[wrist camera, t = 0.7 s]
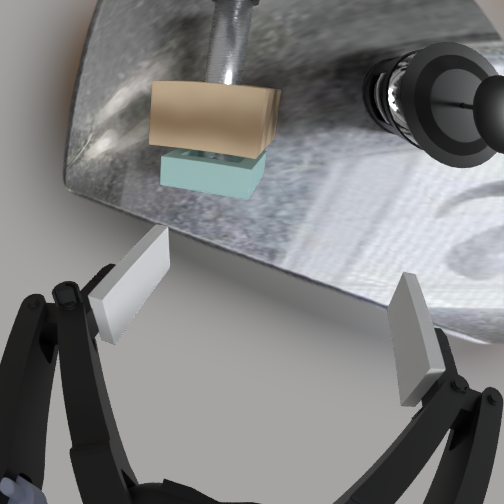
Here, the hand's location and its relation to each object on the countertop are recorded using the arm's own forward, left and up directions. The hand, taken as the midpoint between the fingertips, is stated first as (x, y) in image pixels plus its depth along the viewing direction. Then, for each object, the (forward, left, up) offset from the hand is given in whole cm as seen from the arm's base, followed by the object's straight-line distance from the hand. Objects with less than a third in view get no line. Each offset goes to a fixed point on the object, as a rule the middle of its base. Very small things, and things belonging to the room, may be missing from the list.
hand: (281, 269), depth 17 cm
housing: (-6, -9, -23) cm, 26 cm away
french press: (-12, +10, -24) cm, 28 cm away
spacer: (0, -9, -22) cm, 24 cm away
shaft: (-8, -9, -19) cm, 22 cm away
